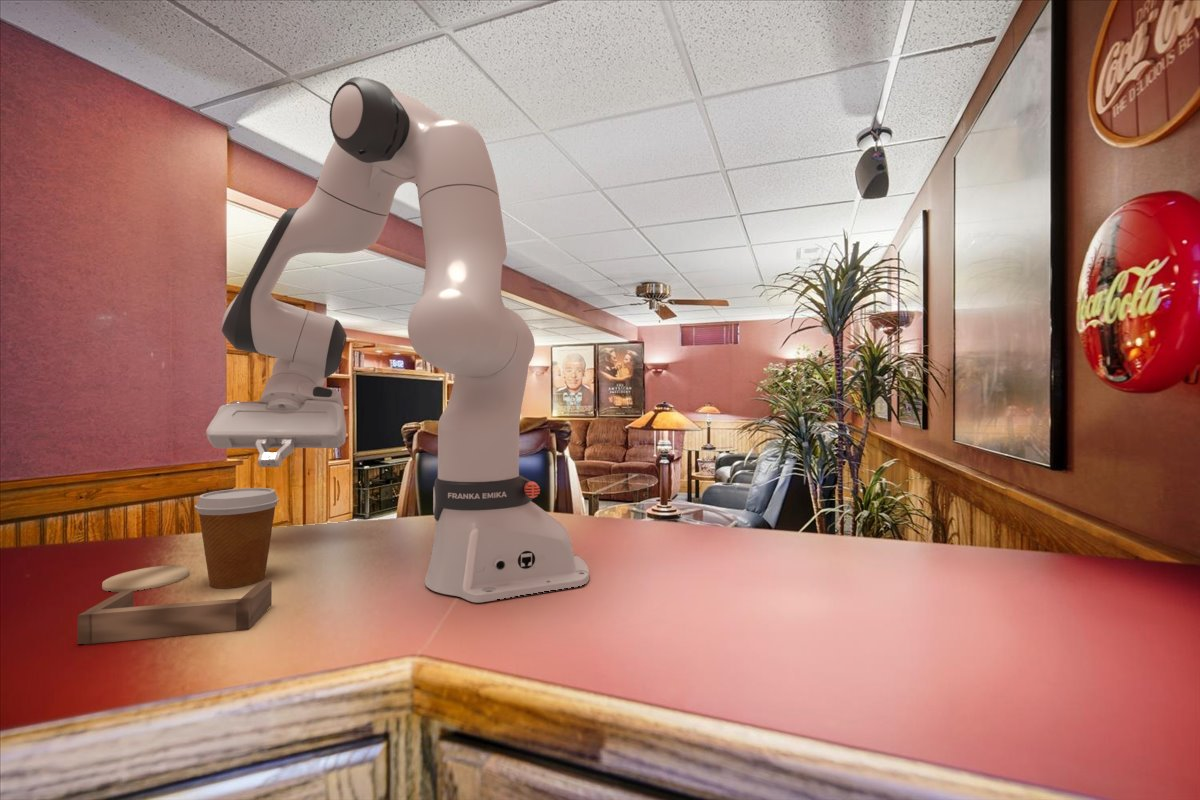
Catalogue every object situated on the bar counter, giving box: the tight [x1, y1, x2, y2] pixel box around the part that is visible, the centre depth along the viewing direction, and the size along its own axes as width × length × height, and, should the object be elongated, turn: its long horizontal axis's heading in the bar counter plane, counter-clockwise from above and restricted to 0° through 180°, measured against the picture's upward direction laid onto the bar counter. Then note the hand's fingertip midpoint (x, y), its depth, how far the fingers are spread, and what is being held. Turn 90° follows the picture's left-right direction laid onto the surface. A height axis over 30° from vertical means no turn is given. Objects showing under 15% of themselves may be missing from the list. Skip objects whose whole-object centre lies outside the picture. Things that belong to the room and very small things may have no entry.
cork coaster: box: [101, 564, 190, 593], centre depth 72 cm, size 9×9×1 cm
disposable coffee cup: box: [194, 487, 280, 589], centre depth 72 cm, size 10×10×12 cm
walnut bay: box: [77, 580, 273, 645], centre depth 58 cm, size 15×7×3 cm, turn 104°
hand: (268, 464), depth 83 cm, fingers closed
